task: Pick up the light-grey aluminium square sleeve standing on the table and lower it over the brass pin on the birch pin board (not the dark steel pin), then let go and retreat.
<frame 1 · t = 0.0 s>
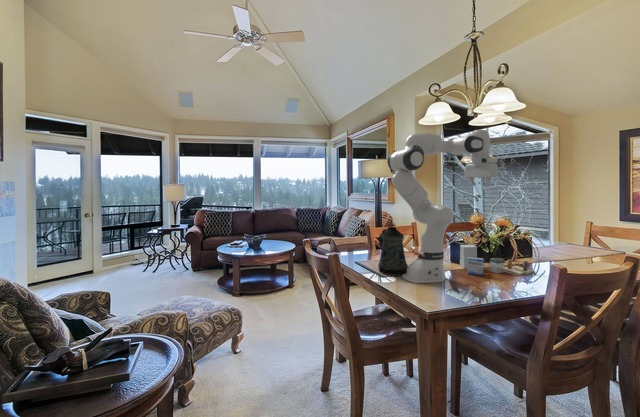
hand: (479, 185, 179), 48 cm above the table, fingers open, 8 cm apart
black tall carved piece: (390, 270, 188), on the table
medicine box: (475, 274, 179), on the table
pinboard: (516, 271, 181), on the table
sleeve: (496, 271, 182), on the table
supplement box: (468, 267, 193), on the table
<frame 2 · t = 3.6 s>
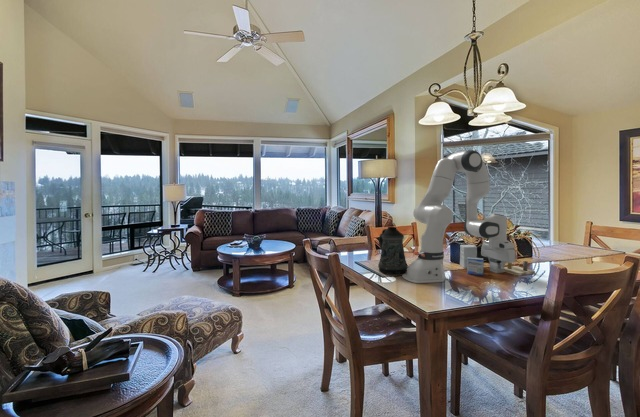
hand: (496, 267, 182), 2 cm above the table, fingers closed on sleeve, 5 cm apart
sleeve: (496, 271, 182), on the table, touching gripper
everything else where it was.
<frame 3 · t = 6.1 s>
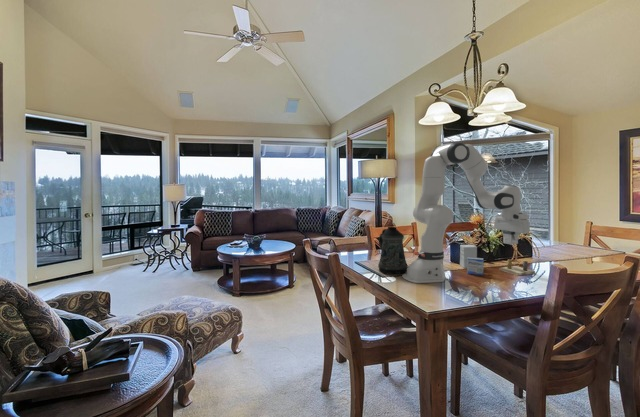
hand: (510, 239, 182), 18 cm above the table, fingers closed on sleeve, 5 cm apart
sleeve: (510, 243, 182), point 15 cm above the table, touching gripper
everything else where it was.
when the fingers open (5 cm above the table, at t = 8.5 s): sleeve stays where it is, resting on pinboard.
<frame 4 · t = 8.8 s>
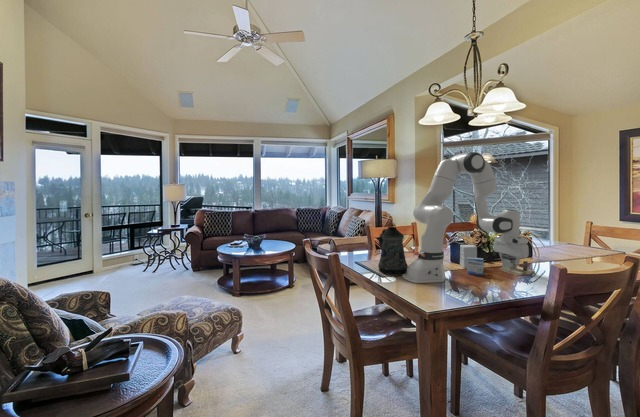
hand: (509, 262, 183), 5 cm above the table, fingers open, 7 cm apart
sleeve: (509, 268, 183), point 1 cm above the table, touching pinboard
everything else where it was.
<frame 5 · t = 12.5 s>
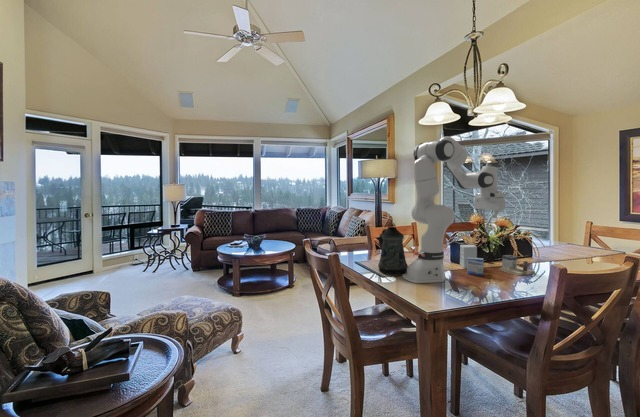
hand: (488, 217, 192), 29 cm above the table, fingers open, 8 cm apart
nothing on the table moved.
at the end: sleeve 0.0 cm from the target spot on the pinboard, point 1.2 cm above the pinboard's base; sleeve tilted 0°; the gripper is holding nothing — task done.
